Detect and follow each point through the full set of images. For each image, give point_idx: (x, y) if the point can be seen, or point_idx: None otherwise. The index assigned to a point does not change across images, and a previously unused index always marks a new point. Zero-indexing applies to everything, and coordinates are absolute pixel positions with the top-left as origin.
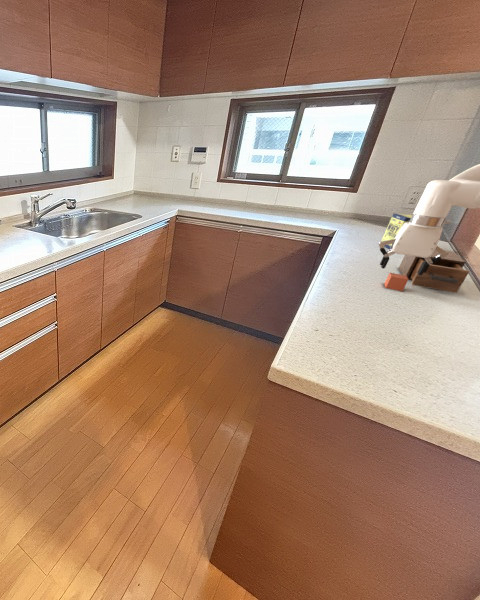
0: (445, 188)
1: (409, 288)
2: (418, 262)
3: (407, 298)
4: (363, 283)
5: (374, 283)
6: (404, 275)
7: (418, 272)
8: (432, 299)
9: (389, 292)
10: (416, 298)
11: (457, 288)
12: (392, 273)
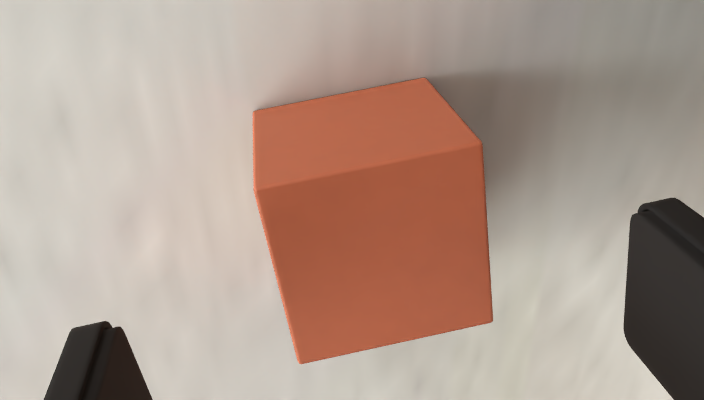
0: None
1: (519, 31)
2: None
3: (471, 385)
4: (67, 290)
5: (158, 183)
6: (456, 170)
7: (638, 282)
8: None
9: None
10: (541, 325)
11: None
12: (296, 212)
